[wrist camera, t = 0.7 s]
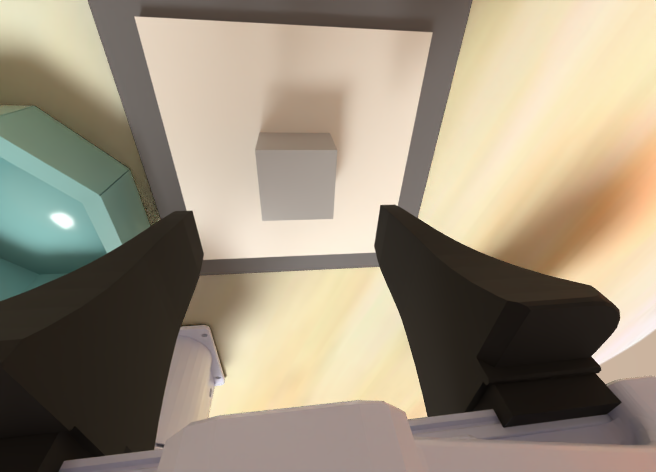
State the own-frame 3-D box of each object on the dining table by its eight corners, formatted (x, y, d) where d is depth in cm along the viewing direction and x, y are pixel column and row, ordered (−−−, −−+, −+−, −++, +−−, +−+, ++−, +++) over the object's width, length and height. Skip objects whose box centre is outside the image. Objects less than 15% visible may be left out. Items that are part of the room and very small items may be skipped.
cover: (386, 247, 23) (400, 278, 20) (201, 254, 21) (188, 290, 18) (427, 32, 15) (462, 32, 12) (139, 16, 13) (99, 12, 11)
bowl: (167, 273, 23) (151, 308, 20) (-9, 281, 21) (-54, 321, 18) (107, 107, 16) (68, 123, 13) (-160, 102, 14) (-271, 119, 11)
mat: (403, 262, 25) (405, 265, 25) (181, 272, 23) (179, 276, 22) (472, -15, 15) (476, -16, 14) (77, -44, 12) (72, -47, 12)
